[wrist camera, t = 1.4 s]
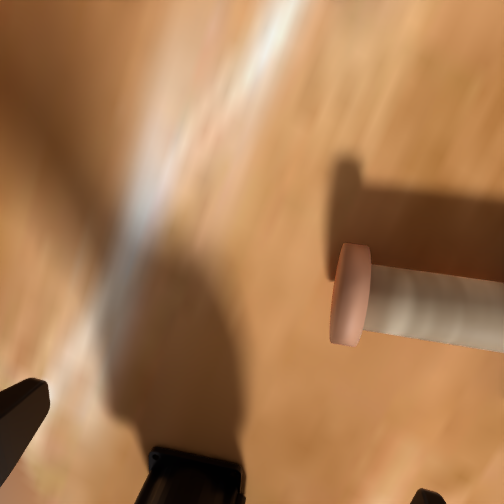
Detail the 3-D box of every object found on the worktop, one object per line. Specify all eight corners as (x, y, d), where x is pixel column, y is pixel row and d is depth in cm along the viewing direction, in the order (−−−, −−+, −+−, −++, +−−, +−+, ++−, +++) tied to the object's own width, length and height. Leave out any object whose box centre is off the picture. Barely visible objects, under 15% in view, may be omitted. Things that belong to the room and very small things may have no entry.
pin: (328, 312, 20) (330, 364, 16) (343, 230, 19) (349, 264, 14) (596, 354, 19) (677, 426, 14) (638, 268, 17) (743, 320, 13)
